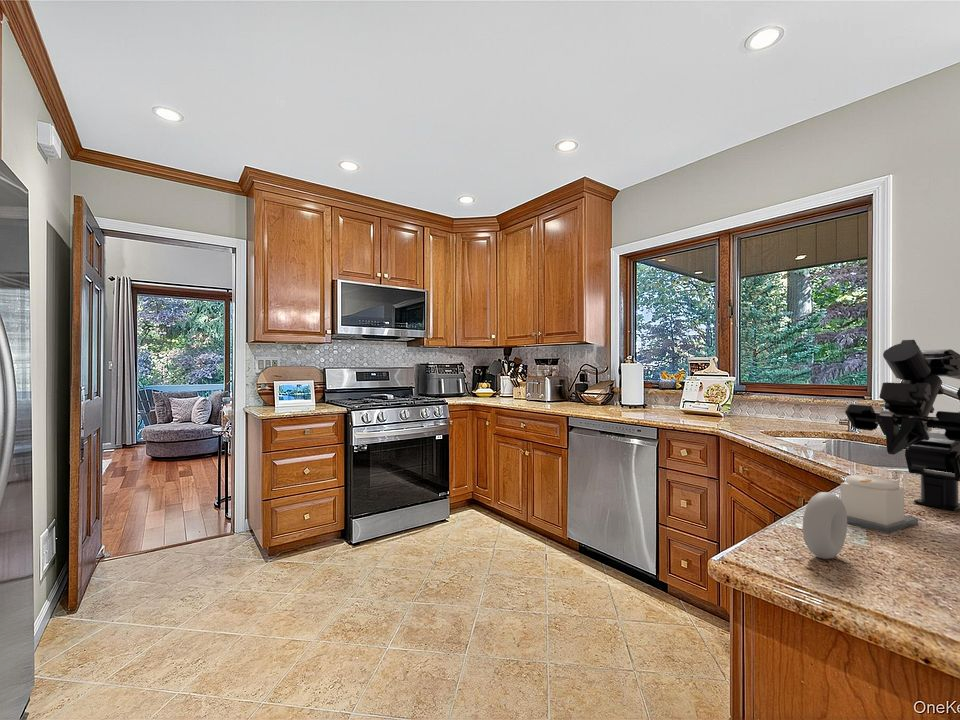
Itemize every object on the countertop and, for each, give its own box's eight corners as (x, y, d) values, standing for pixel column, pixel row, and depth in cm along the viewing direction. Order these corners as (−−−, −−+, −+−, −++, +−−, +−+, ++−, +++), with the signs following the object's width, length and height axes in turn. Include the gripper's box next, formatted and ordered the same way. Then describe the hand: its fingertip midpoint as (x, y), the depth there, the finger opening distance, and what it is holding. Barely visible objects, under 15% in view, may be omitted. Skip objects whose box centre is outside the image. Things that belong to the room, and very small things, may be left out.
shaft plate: (857, 509, 94) (857, 477, 94) (917, 523, 86) (917, 488, 86) (826, 517, 89) (826, 483, 89) (887, 533, 80) (887, 495, 80)
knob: (858, 508, 92) (857, 472, 92) (907, 520, 85) (906, 481, 85) (838, 513, 88) (838, 476, 88) (887, 526, 81) (887, 485, 81)
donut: (826, 569, 65) (825, 499, 66) (798, 561, 68) (798, 494, 68) (851, 554, 71) (850, 490, 71) (825, 547, 74) (824, 485, 74)
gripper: (849, 367, 101) (822, 420, 96) (968, 369, 84) (942, 433, 79) (867, 401, 104) (841, 453, 100) (984, 410, 88) (960, 473, 83)
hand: (890, 452), depth 90 cm, fingers closed
